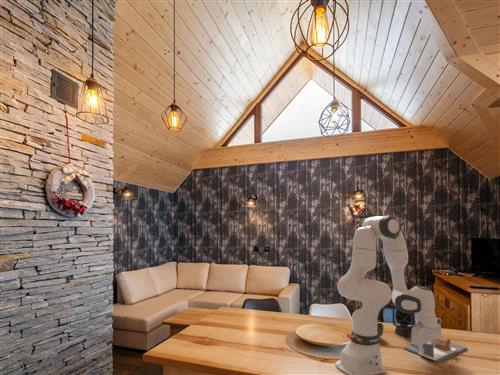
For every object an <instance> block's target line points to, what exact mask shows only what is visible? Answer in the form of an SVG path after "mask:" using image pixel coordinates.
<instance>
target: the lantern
mask: <svg viewBox="0 0 500 375" xmlns="http://www.w3.org/2000/svg"><path fill="white" fill-rule="evenodd" d="M406 288H407V289H408V286H407V285H406ZM391 302H392V301H391ZM390 306H391V307H392V325H393V326H394V327H395V329H394V334H395V335H397V336H399V335H400V337H402V336H404V337H403V338H411V333H412V328H413V327H414V324H416V323H415V313H403V312H401V311H399V310H398V309H397V308H396V310H395V304H394V303H393V302H392V303H391V305H390ZM395 320H396V322H397V323H398V324H397V323H395ZM411 322H413V323H412V325H411Z"/></svg>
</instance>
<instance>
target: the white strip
mask: <svg viewBox="0 0 500 375" xmlns="http://www.w3.org/2000/svg"><path fill="white" fill-rule="evenodd" d="M423 349H424V350H425V352H424V353H420V352H419V354H420V355H423V356H425V357H428V358H430V359H433V360H438V359H440V358H442V357H445V356H447V355H449V354H451V353H453V352H455V351H457V349H455V348H452V347H451V349H450V350H448V351H443V350H441V349H438V348H434V349H433V345H430V344H427V343H425V344H423ZM420 355H419V356H420ZM423 356H422V357H423ZM425 357H424V358H425ZM428 358H427V359H428ZM430 359H429V360H430ZM433 360H432V361H433Z"/></svg>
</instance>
